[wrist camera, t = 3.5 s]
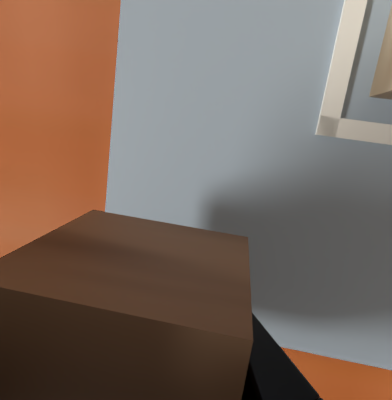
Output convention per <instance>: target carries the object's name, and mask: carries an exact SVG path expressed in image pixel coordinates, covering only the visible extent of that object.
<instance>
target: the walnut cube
mask: <svg viewBox="0 0 392 400" xmlns="http://www.w3.org/2000/svg"><path fill="white" fill-rule="evenodd" d="M252 344H253V326H252V306H251V286H250V265H249V245H248V237H245V236H239V235H233V234H228V233H222V232H216V231H211V230H205V229H199V228H194V227H188V226H182V225H177V224H171V223H165V222H160V221H154V220H148V219H143V218H137V217H131V216H125V215H120V214H114V213H108V212H103V211H97V210H92V211H90V212H88V213H86V214H84V215H82V216H80V217H78V218H77V219H75V220H73V221H71V222H69V223H67V224H65V225H63V226H61V227H59V228H57V229H55V230H53V231H51V232H49V233H48V234H46V235H44V236H42V237H40V238H38V239H36V240H34V241H32V242H30V243H28V244H26V245H24V246H22V247H20V248H19V249H17V250H15V251H13V252H11V253H9V254H7V255H5V256H3V257H1V258H0V400H241V399H242V394H243V389H244V384H245V379H246V374H247V369H248V364H249V359H250V354H251V349H252Z"/></svg>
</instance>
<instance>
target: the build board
mask: <svg viewBox="0 0 392 400" xmlns="http://www.w3.org/2000/svg"><path fill="white" fill-rule="evenodd" d="M391 6H392V0H121V7H120V21H119V34H118V47H117V61H116V74H115V87H114V101H113V114H112V128H111V141H110V154H109V168H108V181H107V194H106V208H105V212H108V213H114V214H120V215H125V216H131V217H137V218H143V219H148V220H154V221H160V222H165V223H171V224H177V225H182V226H188V227H194V228H199V229H205V230H211V231H216V232H222V233H228V234H233V235H239V236H245V237H248V245H249V265H250V286H251V306H252V313H253V314H254V315H255V316H256V318H257V319H258V320H259V321H260V323H261V324H262V325H263V326H264V328H265V329H266V330H267V331H268V333H269V334H270V335H271V336H272V338H273V339H274V340H275V341H276V342H277V344H278V345H279V346H280V347H284V348H289V349H294V350H298V351H303V352H308V353H313V354H317V355H322V356H327V357H332V358H336V359H341V360H346V361H350V362H355V363H360V364H365V365H369V366H374V367H379V368H384V369H388V370H392V100H391V99H382V98H374V97H369V95H370V90H371V86H372V82H373V78H374V74H375V70H376V66H377V62H378V58H379V54H380V50H381V46H382V42H383V38H384V34H385V30H386V26H387V22H388V18H389V14H390V10H391Z"/></svg>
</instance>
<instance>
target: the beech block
mask: <svg viewBox="0 0 392 400" xmlns="http://www.w3.org/2000/svg"><path fill="white" fill-rule="evenodd" d="M369 97H374V98H382V99H391V100H392V6H391V10H390V14H389V18H388V22H387V26H386V30H385V34H384V38H383V42H382V46H381V50H380V54H379V58H378V62H377V66H376V70H375V74H374V78H373V82H372V86H371V90H370V95H369Z"/></svg>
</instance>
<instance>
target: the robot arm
mask: <svg viewBox="0 0 392 400" xmlns="http://www.w3.org/2000/svg"><path fill="white" fill-rule="evenodd" d="M252 326H253V344H252V349H251V354H250V359H249V364H248V369H247V374H246V379H245V384H244V389H243V394H242V399H241V400H323V399H322V398H320V396H319V394H318V393H317V392H316V391H315V389H314V388H313V387H312V386H311V385H310V383H309V382H308V381H307V380H306V378H305V377H304V376H303V375H302V373H301V372H300V371H299V370H298V368H297V367H296V366H295V365H294V363H293V362H292V361H291V360H290V359H289V357H288V356H287V355H286V354H285V352H284V351H283V350H282V349H281V347H280V346H279V345H278V344H277V342H276V341H275V340H274V339H273V338H272V336H271V335H270V334H269V333H268V331H267V330H266V329H265V328H264V326H263V325H262V324H261V323H260V321H259V320H258V319H257V318H256V316H255V315H254V314H253V313H252Z"/></svg>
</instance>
